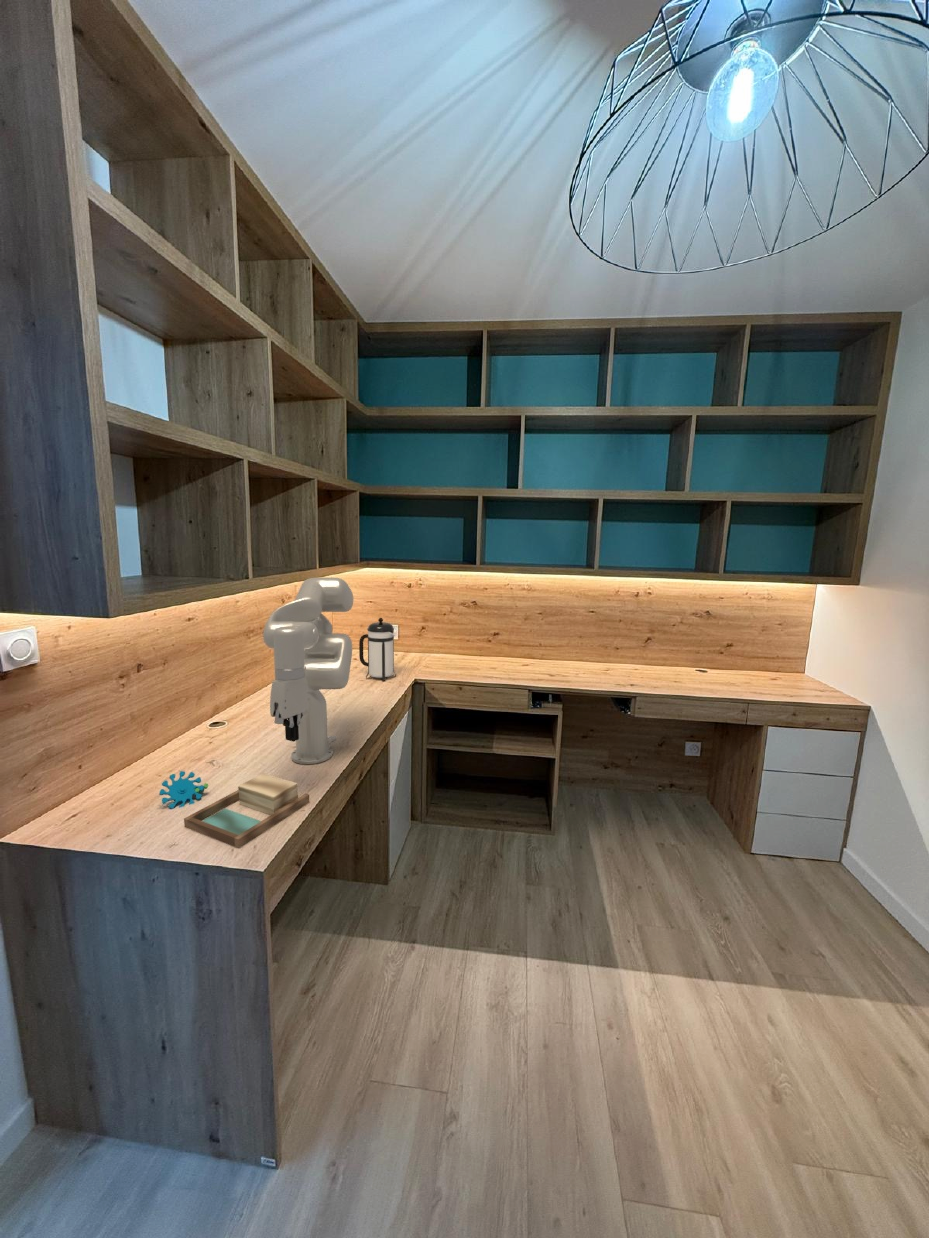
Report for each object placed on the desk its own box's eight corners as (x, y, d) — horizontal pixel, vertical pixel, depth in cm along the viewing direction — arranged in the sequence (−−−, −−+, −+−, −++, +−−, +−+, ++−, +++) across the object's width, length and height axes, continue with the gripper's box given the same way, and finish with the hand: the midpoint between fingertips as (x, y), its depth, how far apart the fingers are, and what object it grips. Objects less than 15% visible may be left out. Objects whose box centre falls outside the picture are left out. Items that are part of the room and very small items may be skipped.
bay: (259, 789, 138) (258, 779, 138) (309, 805, 131) (309, 794, 130) (184, 830, 119) (183, 818, 118) (239, 851, 111) (238, 839, 111)
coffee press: (393, 672, 259) (393, 614, 254) (398, 681, 244) (398, 619, 239) (359, 674, 254) (358, 615, 249) (361, 683, 239) (361, 620, 234)
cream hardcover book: (264, 790, 136) (263, 772, 135) (298, 801, 131) (297, 783, 130) (239, 804, 129) (238, 785, 128) (274, 816, 124) (273, 797, 123)
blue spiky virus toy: (158, 810, 124) (160, 771, 129) (157, 818, 128) (158, 780, 133) (208, 804, 130) (208, 767, 135) (205, 812, 134) (205, 776, 139)
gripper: (299, 665, 141) (301, 728, 144) (256, 677, 128) (259, 746, 130) (320, 669, 138) (322, 733, 140) (279, 681, 124) (281, 752, 127)
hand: (292, 739), depth 135 cm, fingers closed
